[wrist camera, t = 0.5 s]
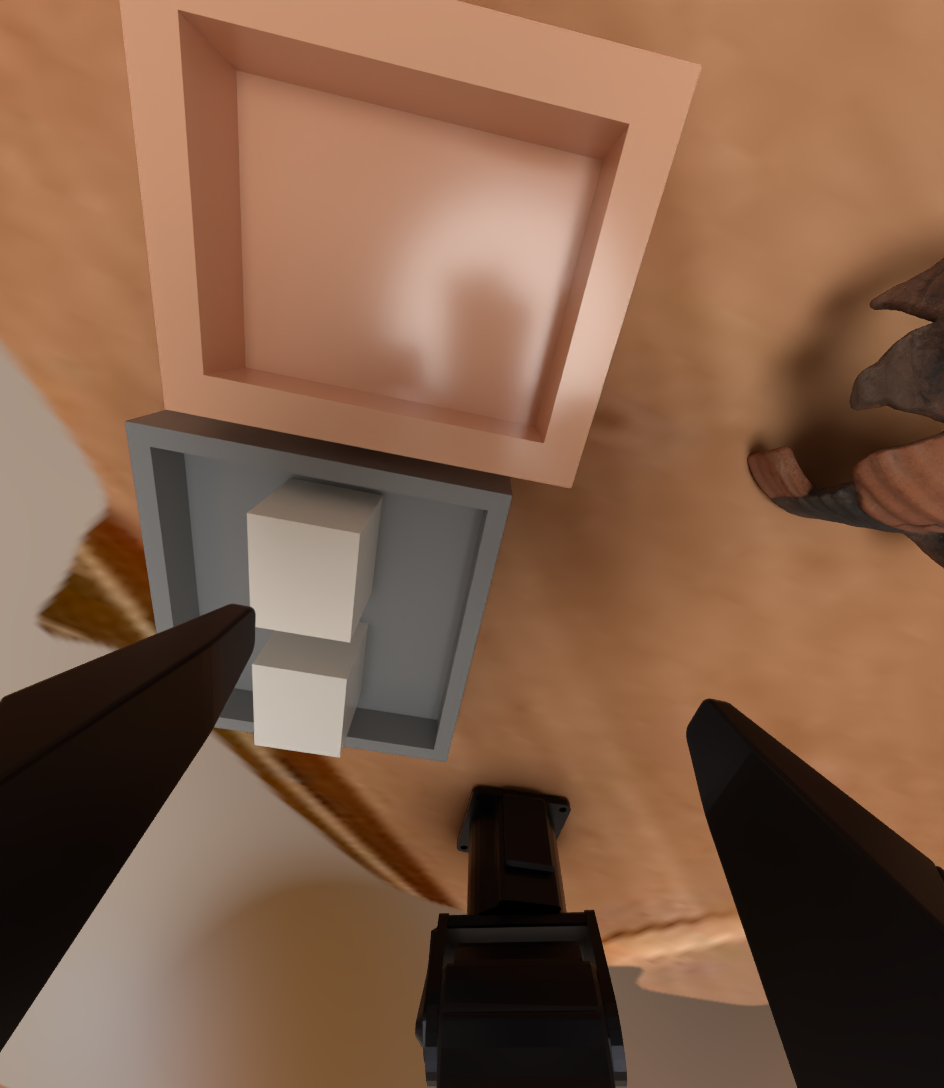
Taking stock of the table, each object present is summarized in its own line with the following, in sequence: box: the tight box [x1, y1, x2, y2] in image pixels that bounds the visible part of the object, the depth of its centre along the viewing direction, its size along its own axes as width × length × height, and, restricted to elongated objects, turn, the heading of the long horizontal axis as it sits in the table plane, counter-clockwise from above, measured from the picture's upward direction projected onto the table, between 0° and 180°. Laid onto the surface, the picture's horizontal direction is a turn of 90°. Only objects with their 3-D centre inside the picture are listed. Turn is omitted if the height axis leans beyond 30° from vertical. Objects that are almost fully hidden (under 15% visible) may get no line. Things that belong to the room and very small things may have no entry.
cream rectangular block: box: [247, 478, 383, 643], centre depth 19 cm, size 5×4×4 cm
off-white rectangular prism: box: [252, 622, 368, 757], centre depth 22 cm, size 5×4×4 cm
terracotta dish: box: [120, 0, 702, 488], centre depth 15 cm, size 11×14×4 cm
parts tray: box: [125, 410, 512, 762], centre depth 21 cm, size 16×15×3 cm
